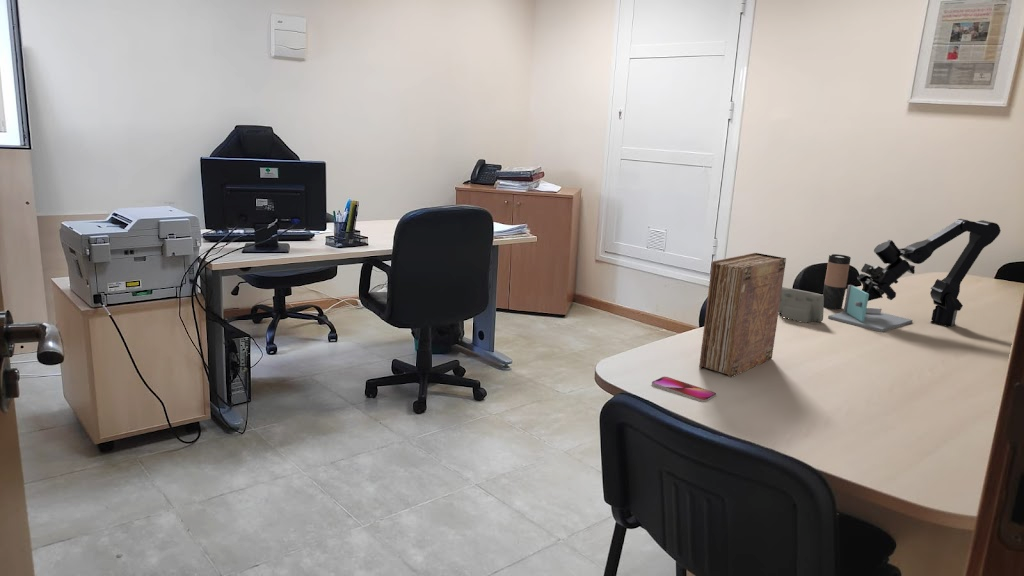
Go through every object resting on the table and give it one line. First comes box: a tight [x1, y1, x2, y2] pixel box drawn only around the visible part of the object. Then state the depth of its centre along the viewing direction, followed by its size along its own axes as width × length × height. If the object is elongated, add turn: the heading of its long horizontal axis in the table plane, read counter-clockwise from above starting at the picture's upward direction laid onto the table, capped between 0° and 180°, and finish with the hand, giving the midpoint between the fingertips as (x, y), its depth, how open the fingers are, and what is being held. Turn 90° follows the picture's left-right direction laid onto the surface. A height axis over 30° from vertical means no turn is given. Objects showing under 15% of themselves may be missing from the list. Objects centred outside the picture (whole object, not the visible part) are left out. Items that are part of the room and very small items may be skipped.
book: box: [698, 252, 787, 378], centre depth 194 cm, size 25×9×30 cm, turn 135°
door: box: [843, 284, 869, 322], centre depth 250 cm, size 14×3×10 cm, turn 178°
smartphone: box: [651, 376, 717, 403], centre depth 176 cm, size 7×1×15 cm
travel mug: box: [822, 253, 852, 310], centre depth 267 cm, size 8×8×20 cm
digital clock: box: [778, 286, 825, 324], centre depth 249 cm, size 16×9×11 cm, turn 38°
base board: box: [827, 306, 913, 333], centre depth 252 cm, size 19×24×3 cm
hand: (857, 302), depth 251 cm, fingers closed on door
